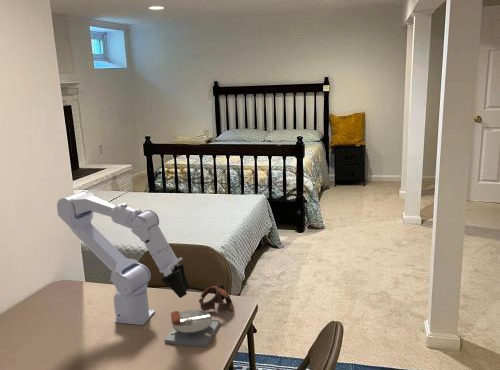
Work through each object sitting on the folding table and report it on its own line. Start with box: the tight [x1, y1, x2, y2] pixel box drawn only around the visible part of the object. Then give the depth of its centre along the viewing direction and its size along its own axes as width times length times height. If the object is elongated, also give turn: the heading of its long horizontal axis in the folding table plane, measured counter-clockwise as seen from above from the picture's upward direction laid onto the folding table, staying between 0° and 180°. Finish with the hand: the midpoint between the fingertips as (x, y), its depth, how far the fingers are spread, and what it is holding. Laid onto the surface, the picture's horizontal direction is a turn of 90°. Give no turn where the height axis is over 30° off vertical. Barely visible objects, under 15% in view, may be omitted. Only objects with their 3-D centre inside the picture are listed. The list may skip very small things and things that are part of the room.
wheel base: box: [164, 319, 221, 348], centre depth 128 cm, size 12×12×1 cm
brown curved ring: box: [198, 282, 234, 312], centre depth 141 cm, size 12×9×8 cm
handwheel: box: [170, 309, 213, 334], centre depth 127 cm, size 11×11×6 cm
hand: (185, 293), depth 127 cm, fingers open, 7 cm apart
